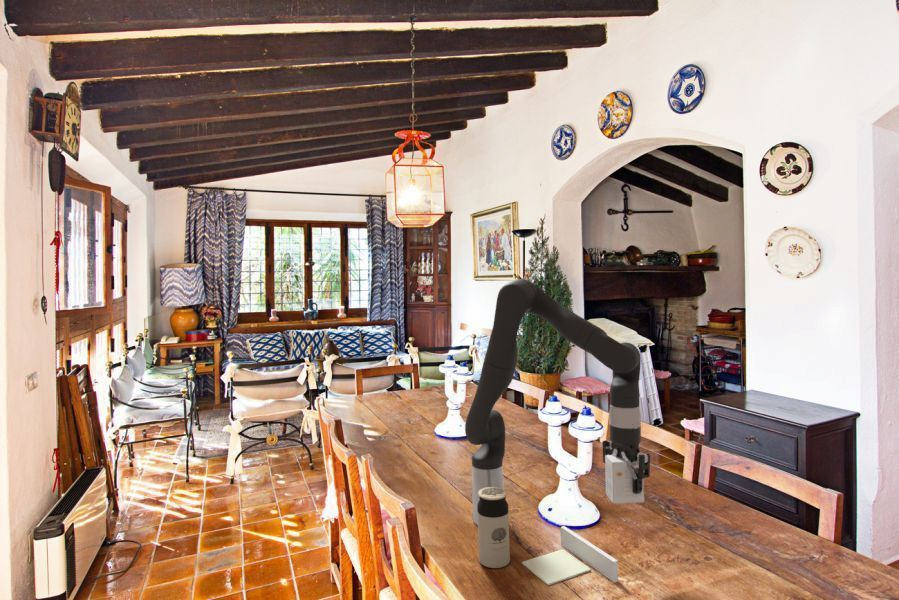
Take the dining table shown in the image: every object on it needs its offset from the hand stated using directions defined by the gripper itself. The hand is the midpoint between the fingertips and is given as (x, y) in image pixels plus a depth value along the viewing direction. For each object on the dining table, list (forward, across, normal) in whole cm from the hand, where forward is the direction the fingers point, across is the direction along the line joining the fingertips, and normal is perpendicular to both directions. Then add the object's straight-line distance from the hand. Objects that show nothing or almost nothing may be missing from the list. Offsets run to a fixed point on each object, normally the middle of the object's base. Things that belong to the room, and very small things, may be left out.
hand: (625, 487), depth 130 cm
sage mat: (+19, -7, -17) cm, 27 cm away
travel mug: (+20, -17, -29) cm, 39 cm away
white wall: (+19, -5, -8) cm, 22 cm away
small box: (+3, 0, 0) cm, 3 cm away
